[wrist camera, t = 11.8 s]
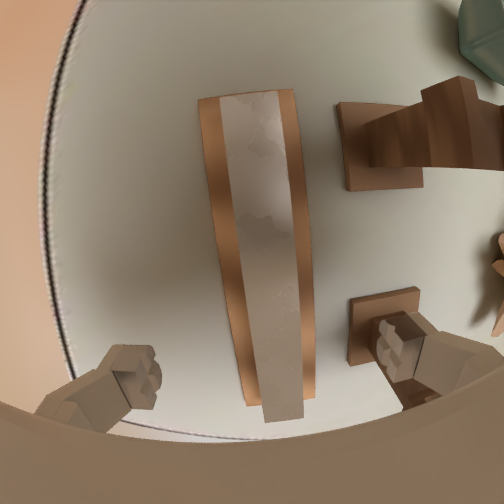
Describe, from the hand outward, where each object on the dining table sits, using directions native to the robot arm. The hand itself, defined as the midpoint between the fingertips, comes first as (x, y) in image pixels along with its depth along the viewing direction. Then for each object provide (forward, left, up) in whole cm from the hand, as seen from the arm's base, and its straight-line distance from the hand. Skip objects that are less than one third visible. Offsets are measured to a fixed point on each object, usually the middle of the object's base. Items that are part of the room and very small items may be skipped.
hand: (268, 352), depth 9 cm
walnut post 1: (-7, +10, -10) cm, 16 cm away
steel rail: (+1, +1, -10) cm, 10 cm away
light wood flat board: (+1, +1, -10) cm, 10 cm away
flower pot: (-18, +24, -11) cm, 32 cm away
